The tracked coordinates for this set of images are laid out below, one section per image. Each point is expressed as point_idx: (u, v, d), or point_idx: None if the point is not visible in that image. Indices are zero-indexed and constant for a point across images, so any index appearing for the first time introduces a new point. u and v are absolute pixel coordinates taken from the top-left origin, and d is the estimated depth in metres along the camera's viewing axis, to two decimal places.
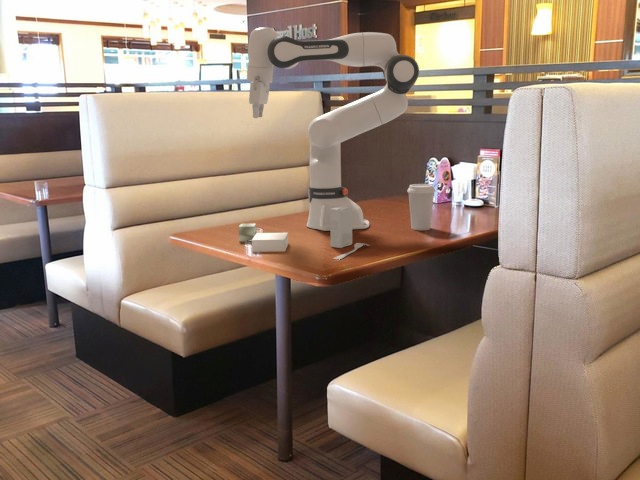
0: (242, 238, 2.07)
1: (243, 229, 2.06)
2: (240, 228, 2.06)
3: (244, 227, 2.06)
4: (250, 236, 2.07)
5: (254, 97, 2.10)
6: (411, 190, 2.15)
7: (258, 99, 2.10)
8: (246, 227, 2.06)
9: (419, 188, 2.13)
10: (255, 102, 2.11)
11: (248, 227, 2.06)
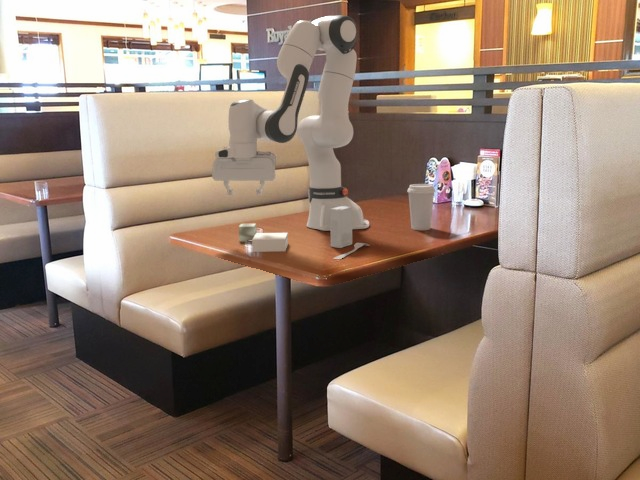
0: (242, 238, 2.07)
1: (243, 229, 2.06)
2: (240, 228, 2.06)
3: (244, 227, 2.06)
4: (250, 236, 2.07)
5: (274, 173, 2.04)
6: (411, 190, 2.15)
7: (275, 174, 2.06)
8: (246, 227, 2.06)
9: (419, 188, 2.13)
10: None
11: (248, 227, 2.06)
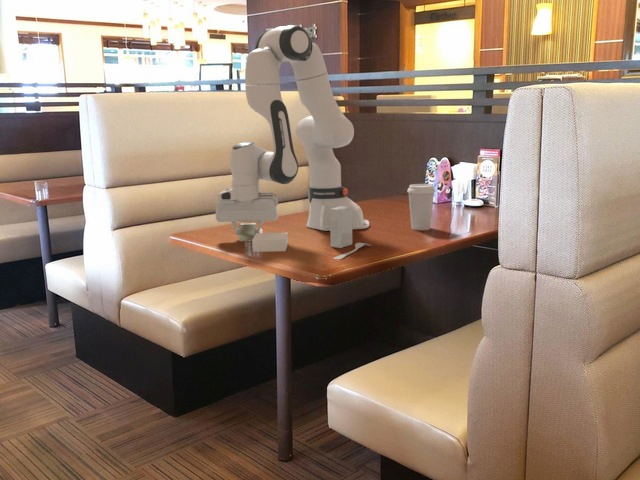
0: (242, 237, 2.07)
1: (243, 229, 2.06)
2: (240, 228, 2.06)
3: (244, 227, 2.06)
4: (250, 236, 2.07)
5: (277, 213, 2.07)
6: (411, 190, 2.15)
7: (277, 214, 2.09)
8: (246, 227, 2.06)
9: (419, 188, 2.13)
10: None
11: (248, 227, 2.06)
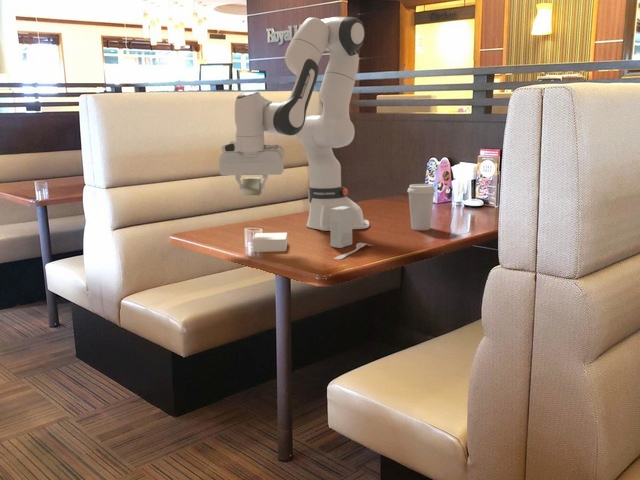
0: (247, 191, 2.00)
1: (247, 182, 1.99)
2: (244, 181, 1.99)
3: (248, 180, 1.99)
4: (255, 190, 1.99)
5: (282, 167, 2.00)
6: (411, 190, 2.15)
7: (283, 168, 2.01)
8: (250, 180, 1.99)
9: (419, 188, 2.13)
10: (282, 172, 2.00)
11: (252, 180, 1.99)
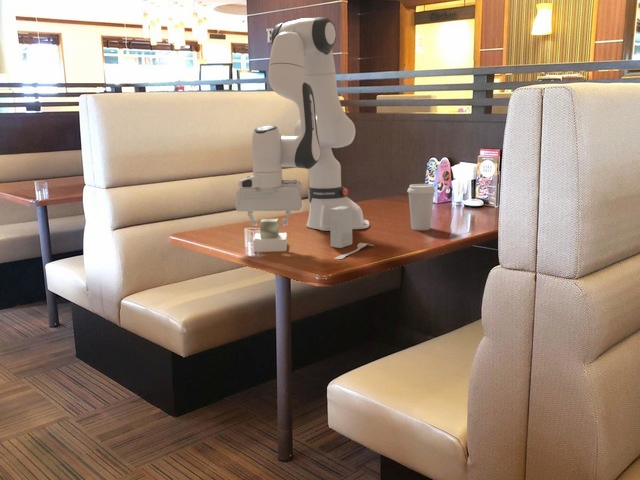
0: (264, 234, 1.94)
1: (265, 225, 1.93)
2: (261, 224, 1.93)
3: (266, 223, 1.93)
4: (272, 233, 1.94)
5: (301, 202, 1.94)
6: (411, 190, 2.15)
7: None
8: (268, 223, 1.93)
9: (419, 188, 2.13)
10: None
11: (270, 223, 1.93)
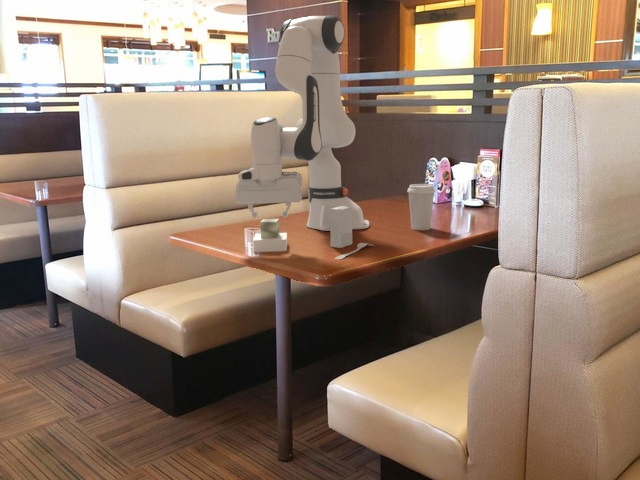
0: (264, 234, 1.94)
1: (265, 225, 1.94)
2: (262, 224, 1.94)
3: (266, 222, 1.93)
4: (272, 233, 1.94)
5: (301, 194, 1.94)
6: (411, 190, 2.15)
7: None
8: (268, 222, 1.93)
9: (419, 188, 2.13)
10: None
11: (270, 223, 1.93)
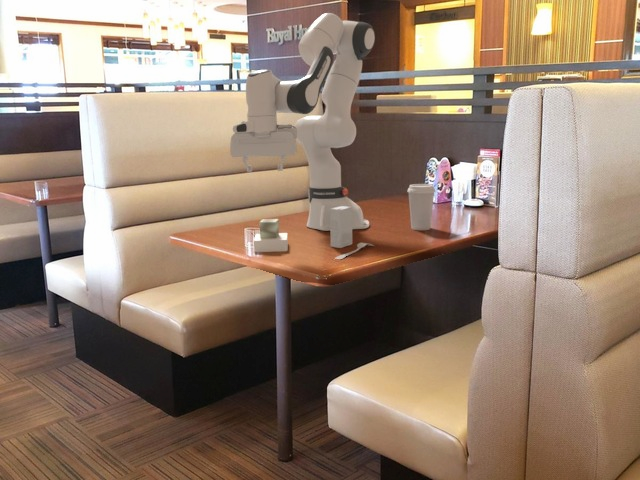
0: (264, 234, 1.94)
1: (264, 225, 1.93)
2: (261, 224, 1.93)
3: (265, 223, 1.93)
4: (272, 233, 1.94)
5: (296, 147, 1.93)
6: (411, 190, 2.15)
7: None
8: (267, 223, 1.93)
9: (419, 188, 2.13)
10: None
11: (269, 223, 1.93)
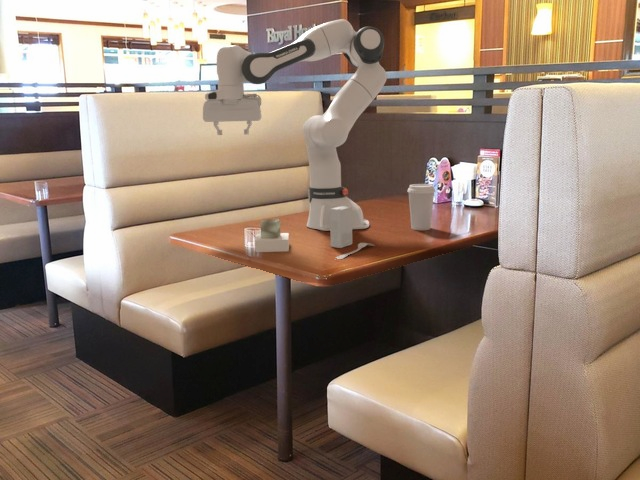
0: (264, 234, 1.94)
1: (265, 225, 1.93)
2: (262, 224, 1.93)
3: (266, 223, 1.93)
4: (273, 233, 1.93)
5: (260, 114, 2.21)
6: (411, 190, 2.15)
7: None
8: (268, 223, 1.93)
9: (419, 188, 2.13)
10: None
11: (270, 223, 1.93)
